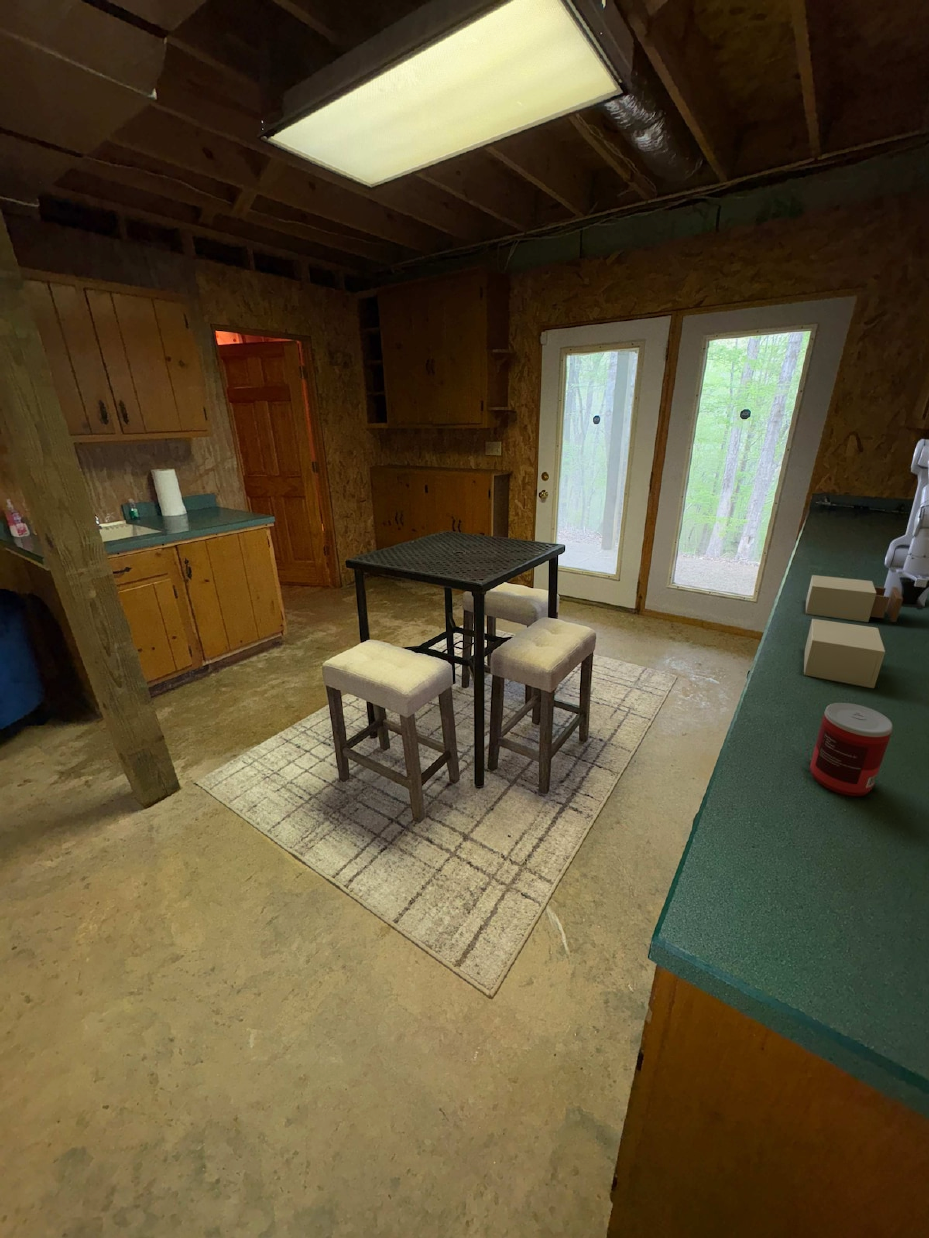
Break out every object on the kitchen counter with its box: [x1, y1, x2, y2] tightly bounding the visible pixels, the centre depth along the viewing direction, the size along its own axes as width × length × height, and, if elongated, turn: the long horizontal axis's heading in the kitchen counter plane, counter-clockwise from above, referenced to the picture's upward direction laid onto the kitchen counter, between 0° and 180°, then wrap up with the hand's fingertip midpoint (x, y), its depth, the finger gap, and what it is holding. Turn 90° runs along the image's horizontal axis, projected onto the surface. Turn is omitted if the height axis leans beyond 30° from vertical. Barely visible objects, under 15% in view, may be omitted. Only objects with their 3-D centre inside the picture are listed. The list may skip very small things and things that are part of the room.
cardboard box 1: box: [805, 574, 876, 623], centre depth 133 cm, size 14×12×8 cm
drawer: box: [870, 586, 925, 623], centre depth 128 cm, size 17×10×6 cm, turn 56°
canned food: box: [809, 702, 893, 797], centre depth 70 cm, size 8×8×11 cm
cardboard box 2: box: [803, 618, 886, 689], centre depth 103 cm, size 14×12×8 cm
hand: (906, 606), depth 125 cm, fingers closed, pressing on drawer
